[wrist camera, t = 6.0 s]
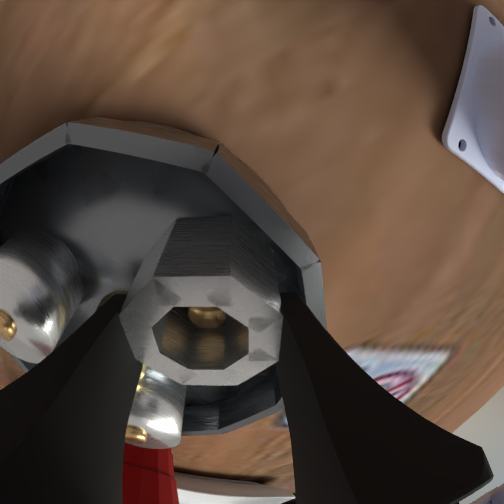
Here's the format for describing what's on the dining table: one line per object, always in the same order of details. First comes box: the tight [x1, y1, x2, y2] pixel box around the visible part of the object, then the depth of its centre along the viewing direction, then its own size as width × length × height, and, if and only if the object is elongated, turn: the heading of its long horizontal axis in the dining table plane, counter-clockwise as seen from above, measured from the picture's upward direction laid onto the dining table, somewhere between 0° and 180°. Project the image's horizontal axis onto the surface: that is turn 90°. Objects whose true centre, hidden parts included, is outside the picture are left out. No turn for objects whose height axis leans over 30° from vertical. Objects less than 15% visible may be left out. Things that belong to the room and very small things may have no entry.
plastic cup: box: [122, 443, 179, 504], centre depth 16 cm, size 11×11×12 cm
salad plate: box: [174, 472, 295, 504], centre depth 28 cm, size 21×21×3 cm
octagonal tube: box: [118, 216, 283, 386], centre depth 9 cm, size 4×4×3 cm
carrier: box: [0, 116, 327, 449], centre depth 10 cm, size 16×16×5 cm
